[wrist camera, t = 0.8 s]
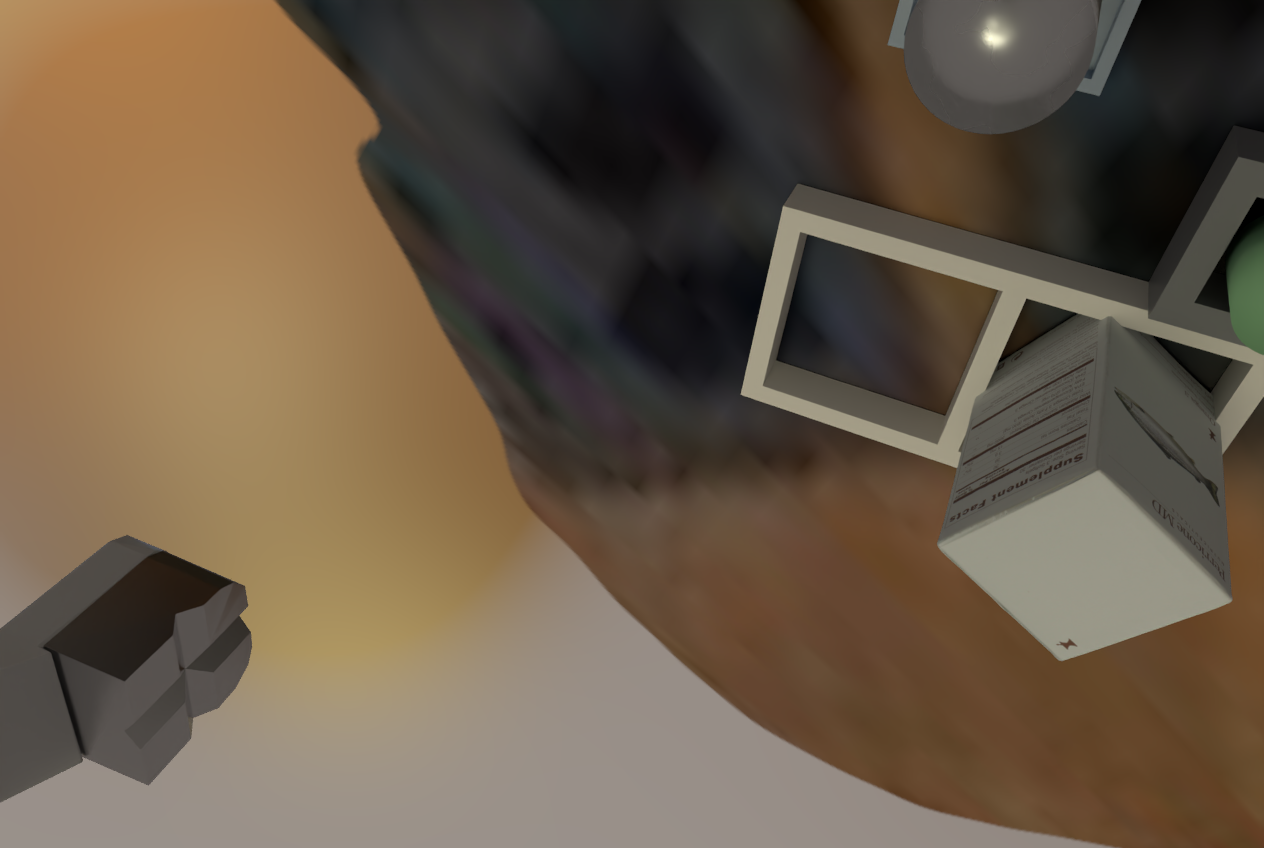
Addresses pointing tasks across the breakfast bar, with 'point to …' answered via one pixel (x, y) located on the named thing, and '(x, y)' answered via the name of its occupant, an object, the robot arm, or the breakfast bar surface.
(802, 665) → the breakfast bar surface
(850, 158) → the breakfast bar surface
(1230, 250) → the button
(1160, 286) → the button housing
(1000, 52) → the cylinder
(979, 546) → the supplement box
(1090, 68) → the tray
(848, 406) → the white open frame
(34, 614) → the robot arm
